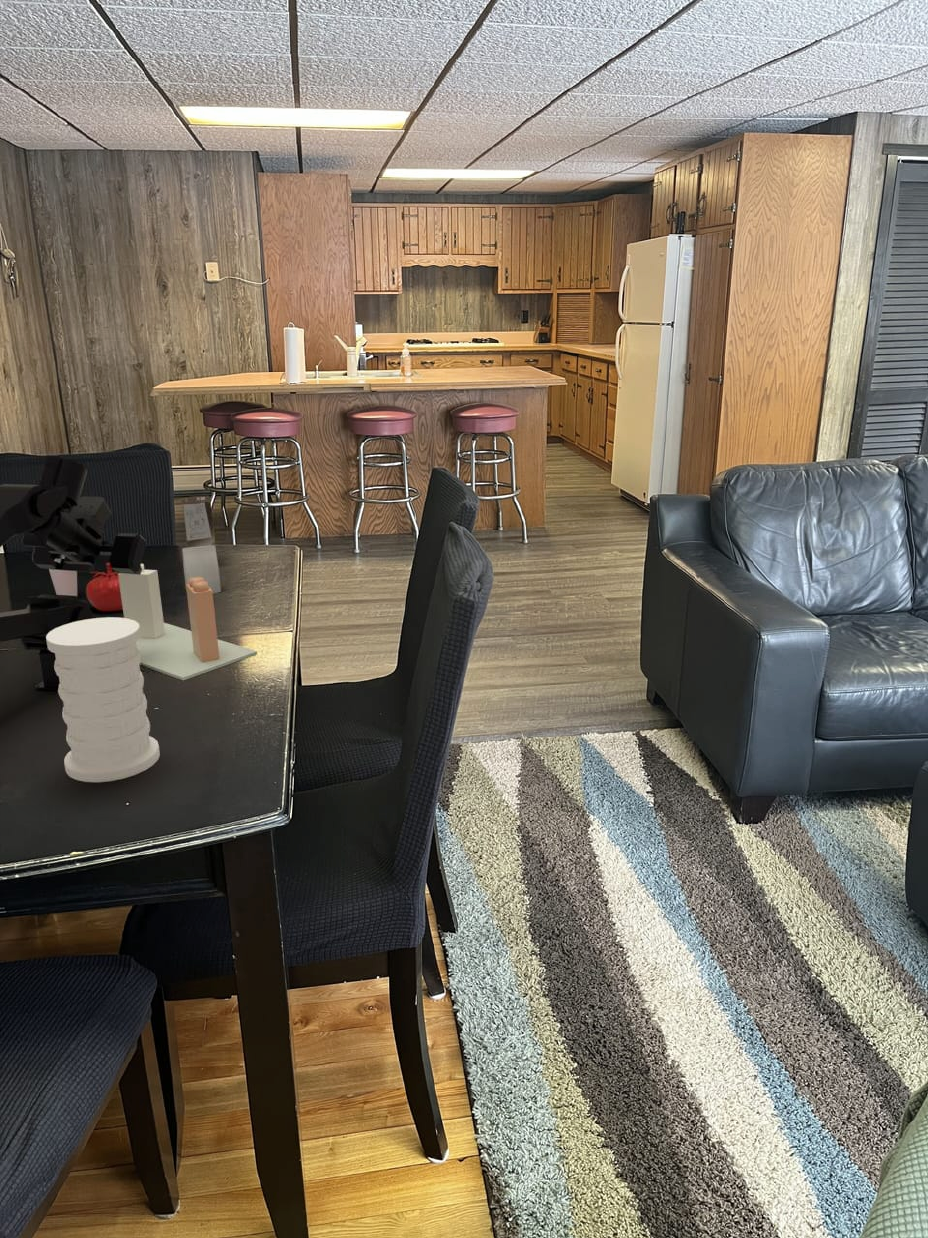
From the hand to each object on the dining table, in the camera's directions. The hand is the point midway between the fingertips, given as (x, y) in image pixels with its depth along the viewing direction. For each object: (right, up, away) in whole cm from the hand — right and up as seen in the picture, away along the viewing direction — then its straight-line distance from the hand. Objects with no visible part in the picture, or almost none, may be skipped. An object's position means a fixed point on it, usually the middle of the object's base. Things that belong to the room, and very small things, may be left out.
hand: (116, 570), depth 153 cm
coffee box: (-2, +4, +59) cm, 59 cm away
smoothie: (-23, -4, +34) cm, 41 cm away
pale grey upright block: (+4, -3, +37) cm, 38 cm away
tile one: (+2, -11, +9) cm, 14 cm away
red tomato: (-11, -6, +27) cm, 30 cm away
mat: (+8, -14, +3) cm, 16 cm away
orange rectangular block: (+16, -15, -2) cm, 22 cm away
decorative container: (+14, -27, -38) cm, 49 cm away
